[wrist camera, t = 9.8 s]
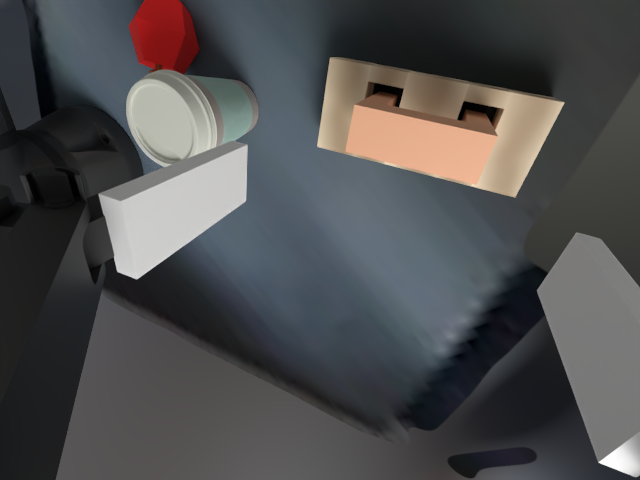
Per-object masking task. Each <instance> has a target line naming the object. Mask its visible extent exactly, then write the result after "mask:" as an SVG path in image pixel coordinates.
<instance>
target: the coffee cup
mask: <svg viewBox="0 0 640 480" xmlns="http://www.w3.org/2000/svg"><path fill="white" fill-rule="evenodd" d="M126 114H127V120H128V124H129V127H130V130H131V132H132V135H133V137H134V139H135V140H136V142H137V144H138V145H139V147H140V148H141V149H142V150H143V152H144V153H145V154H146V155H147V156H148V157H149V158H151V159H152V160H153V161H155V162H156V163H158V164H160V165H162V166H164V167H167V166H169V165H172V164H174V163H177V162H179V161H182V160H185V159H187V158H190V157H192V156H195V155H197V154H200V153H202V152H205V151H207V150H210V149H212V148H215V147H217V146H220V145H222V144H225V143H227V142H230V141H235V140H237V139H238V138H240V137H241V136H243V135H244V134H246V133H247V132H249V131H250V130H251V129H253V128H254V126H255V125H256V123H257V120H258V116H259V107H258V102H257V99H256V97H255V95H254V93H253V92H252V90H251V89H250V88H249V87H248V86H247V85H246V84H244V83H243V82H241V81H238V80H232V79H223V78H213V77H203V76H193V75H183V74H181V73H178V72H176V71H173V70H158V71H155V72H152V73H149V74H147V75H146V76H144V77H143V78H142V79H141V80H140V81H138V82H136V83H135V84H134V85H133V86H132V88H131V89H130V91H129V94H128V97H127V102H126Z"/></svg>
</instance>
